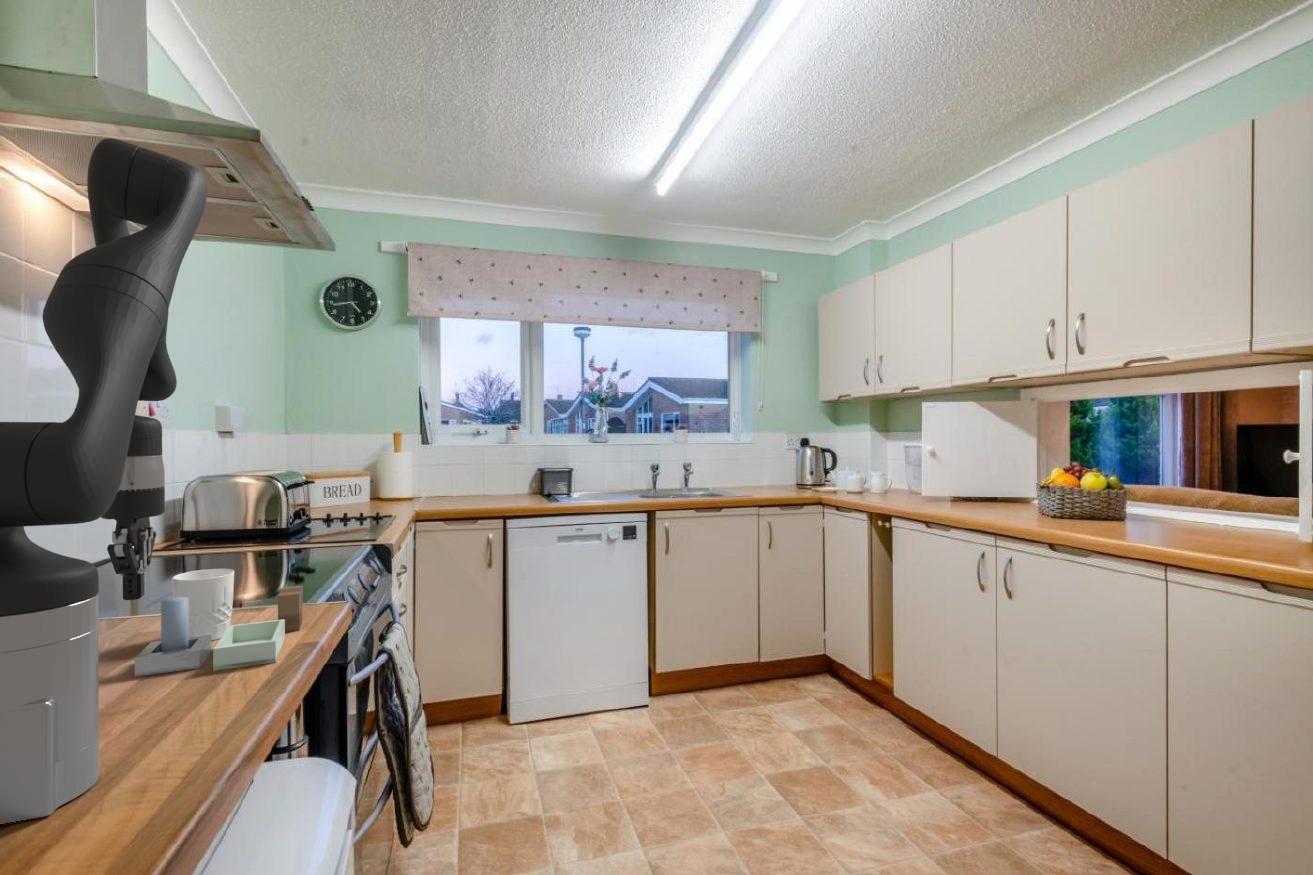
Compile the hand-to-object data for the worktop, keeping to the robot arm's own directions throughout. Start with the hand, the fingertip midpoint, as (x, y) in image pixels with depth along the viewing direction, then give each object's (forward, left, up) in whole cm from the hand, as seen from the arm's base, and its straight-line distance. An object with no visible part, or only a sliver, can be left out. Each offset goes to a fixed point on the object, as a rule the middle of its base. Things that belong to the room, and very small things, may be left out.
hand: (133, 598), depth 92 cm
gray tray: (-12, -8, -7) cm, 16 cm away
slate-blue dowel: (-12, -8, -7) cm, 16 cm away
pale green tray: (-12, -17, -7) cm, 22 cm away
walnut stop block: (0, -21, -7) cm, 22 cm away
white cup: (0, -9, -7) cm, 11 cm away
